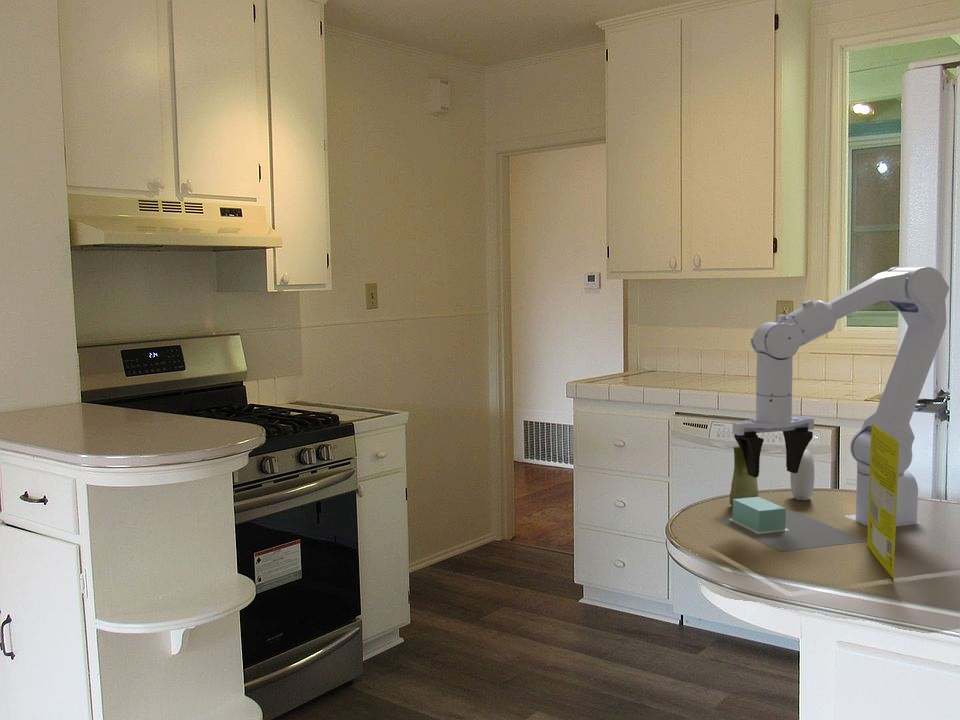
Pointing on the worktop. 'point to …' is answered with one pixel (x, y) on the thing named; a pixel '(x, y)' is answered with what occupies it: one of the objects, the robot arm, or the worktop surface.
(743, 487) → the fennel bulb
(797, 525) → the mat
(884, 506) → the food package
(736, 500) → the card box
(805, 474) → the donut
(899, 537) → the worktop surface
